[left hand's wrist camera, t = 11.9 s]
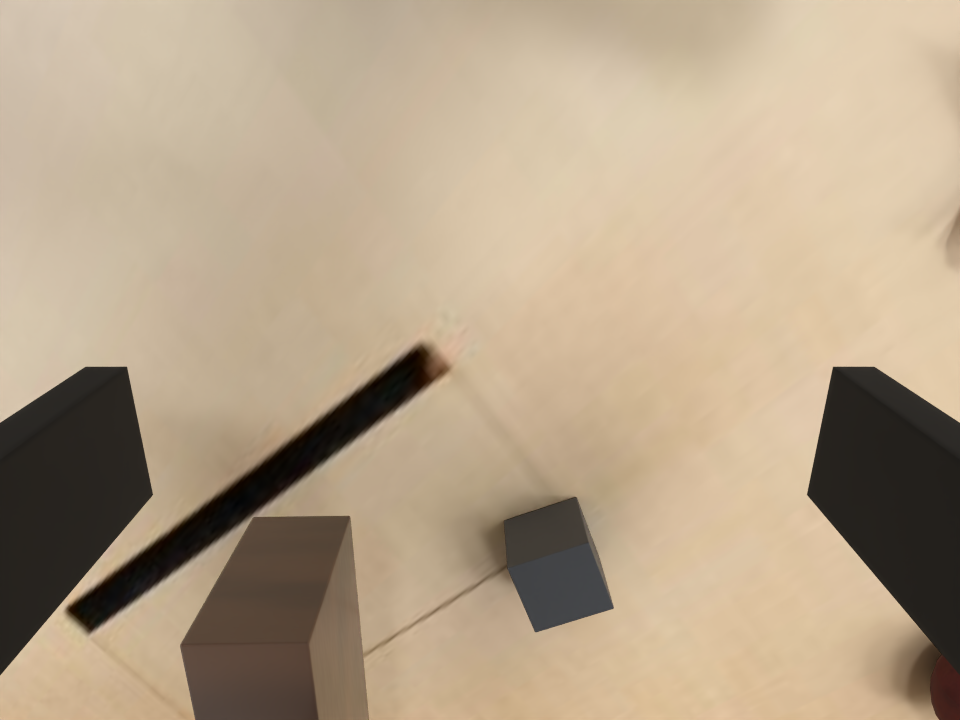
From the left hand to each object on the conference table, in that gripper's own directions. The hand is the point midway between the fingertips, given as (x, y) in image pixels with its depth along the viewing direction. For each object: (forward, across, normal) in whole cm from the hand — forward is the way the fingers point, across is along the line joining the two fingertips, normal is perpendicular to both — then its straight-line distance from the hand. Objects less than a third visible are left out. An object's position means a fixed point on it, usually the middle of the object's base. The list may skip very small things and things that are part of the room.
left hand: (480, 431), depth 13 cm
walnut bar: (+14, -8, -24) cm, 29 cm away
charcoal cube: (+26, +5, -21) cm, 33 cm away
